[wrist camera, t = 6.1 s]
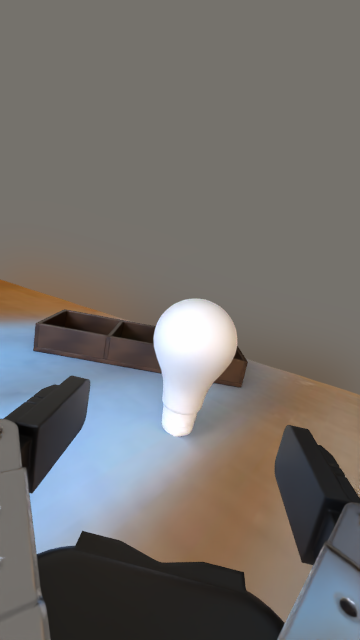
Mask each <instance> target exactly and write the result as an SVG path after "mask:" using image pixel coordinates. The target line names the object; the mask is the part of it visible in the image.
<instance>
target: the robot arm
mask: <svg viewBox="0 0 360 640" xmlns="http://www.w3.org/2000/svg"><path fill="white" fill-rule="evenodd" d="M89 391H90V380H89V379H84V378H80V377H76V376H70V377H69V378H67V379H66V380H65V381H64V382H62V383H61V384H60V385H52V386H49V387H46V388H44V389H42V390H40V391H39V392H38V393H36V394H35V395H34V397H31V398H30V399H29V400H27V402H25V403H23V404H22V405H21V406H20V407H18V408H17V409H16V410H14V411H13V412H12V413H10V414H9V415H8V416H6V417H5V418H4V419H0V640H360V498H359V497H358V495H357V493H356V492H355V490H354V489H353V487H352V486H351V484H350V482H349V481H348V479H347V478H346V477H345V475H344V473H343V471H342V470H341V469H340V468H339V465H338V464H337V462H336V460H335V459H334V457H333V456H332V455H331V454H330V453H329V452H328V451H327V450H326V449H324V448H323V447H322V446H321V445H318V444H317V443H316V441H315V439H314V438H313V436H312V434H311V433H310V431H309V430H308V429H305V428H300V427H296V426H291V425H287V426H286V428H285V430H284V433H283V437H282V440H281V443H280V446H279V450H278V453H277V456H276V460H275V477H276V480H277V484H278V487H279V490H280V493H281V497H282V500H283V503H284V506H285V509H286V513H287V516H288V519H289V522H290V526H291V529H292V532H293V535H294V539H295V542H296V545H297V548H298V551H299V555H300V558H301V561H302V562H303V563H307V564H310V565H313V567H312V569H311V571H310V573H309V575H308V577H307V580H306V582H305V584H304V586H303V588H302V590H301V592H300V594H299V596H298V598H297V600H296V602H295V604H294V606H293V608H292V610H291V612H290V614H289V616H288V618H287V620H286V622H285V623H284V622H283V621H282V620H281V618H280V617H279V616H278V615H277V614H276V613H275V612H274V611H273V610H272V609H271V608H270V607H268V606H267V605H266V604H265V603H264V602H263V601H261V600H260V599H259V598H257V597H256V596H254V595H253V594H251V593H250V592H248V591H246V587H245V578H244V572H241V571H237V570H233V569H229V568H225V567H221V566H217V565H213V564H209V563H205V562H176V563H161V562H158V561H156V560H154V559H152V558H150V557H149V556H147V555H145V554H143V553H142V552H140V551H138V550H136V549H135V548H133V547H131V546H129V545H127V544H126V543H124V542H122V541H119V540H116V539H112V538H108V537H104V536H100V535H96V534H92V533H88V532H84V531H82V533H81V535H80V537H79V539H78V541H77V543H76V546H66V547H59V548H55V549H51V550H47V551H45V552H42V553H39V554H36V546H35V538H34V529H33V521H32V513H31V504H30V496H29V493H33V492H34V490H35V489H36V488H37V486H38V485H39V484H40V483H41V481H42V480H43V479H44V477H45V476H46V475H47V473H48V472H49V471H50V469H51V468H52V467H53V465H54V464H55V463H56V462H57V460H58V459H59V458H60V456H61V455H62V454H63V452H64V451H65V450H66V448H67V447H68V446H69V444H70V443H71V442H72V441H73V439H74V438H75V437H76V435H77V434H78V433H79V431H80V430H81V428H82V426H83V424H84V421H85V418H86V413H87V406H88V399H89Z"/></svg>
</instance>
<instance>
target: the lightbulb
mask: <svg viewBox="0 0 360 640" xmlns="http://www.w3.org/2000/svg"><path fill="white" fill-rule="evenodd" d="M153 340H154V349H155V352H156V356H157V359H158V362H159V365H160V368H161V371H162V376H163V396H162V401H163V403H164V406H163V415H162V423H161V424H162V427H163V428H164V430H165V431H166V432H168V433H169V434H171V435H172V436H175V437H179V436H185V435H188V434H189V433H190V432H191V431H192V429H193V425H194V423H195V419H196V415H197V412H198V411H199V410H200V409H201V407H202V404H203V401H204V398H205V396H206V394H207V392H208V390H209V388H210V387H211V385H212V384H213V382H214V381H215V380H216V379H217V378H218V377H219V376H220V375H221V374H222V373H223V372H224V371H225V369H226V368H227V367H228V366H229V365H230V363H231V362H232V360H233V358H234V356H235V353H236V349H237V333H236V328H235V326H234V323H233V321H232V319H231V318H230V316H229V315H228V314H227V313H226V312H225V310H224V309H222V308H221V307H220V306H218V305H217V304H215V303H213V302H211V301H208V300H205V299H186V300H183V301H180V302H178V303H175V304H173V305H172V306H171V307H170V308H168V309H167V310H166V311H165V312H164V313H163V314H162V316H161V317H160V319H159V320H158V322H157V325H156V327H155V331H154V337H153Z"/></svg>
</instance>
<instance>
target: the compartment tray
mask: <svg viewBox="0 0 360 640" xmlns="http://www.w3.org/2000/svg"><path fill="white" fill-rule="evenodd" d="M155 327H156V326H151V325H145V324H140V323H135V322H130V321H124V320H119V319H113V318H108V317H103V316H97V315H92V314H86V313H81V312H76V311H70V310H62V311H60V312H58V313H56V314H54V315H52V316H50V317H48V318H46V319H44V320H42V321H40V322H38V323H36V326H35V338H34V349H33V350H34V351H39V352H45V353H50V354H56V355H61V356H67V357H73V358H78V359H84V360H90V361H95V362H101V363H106V364H112V365H118V366H123V367H129V368H134V369H140V370H146V371H151V372H157V373H162V371H161V368H160V365H159V362H158V359H157V356H156V352H155V349H154V340H153V337H154V331H155ZM247 363H248V362H247V360H246V359H245V357H244V355H243V354H242V352H241V351H240V349H239V348H238V346H237V349H236V353H235V356H234V358H233V360H232V362H231V363H230V365H229V366H228V367H227V368H226V369H225V371H224V372H223V373H222V374H221V375H220V376H219V377H218V378H217V379H216V380H215V381H214V382H213V383H219V384H224V385H230V386H236V387H241V386H242V382H243V379H244V375H245V371H246V367H247Z"/></svg>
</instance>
